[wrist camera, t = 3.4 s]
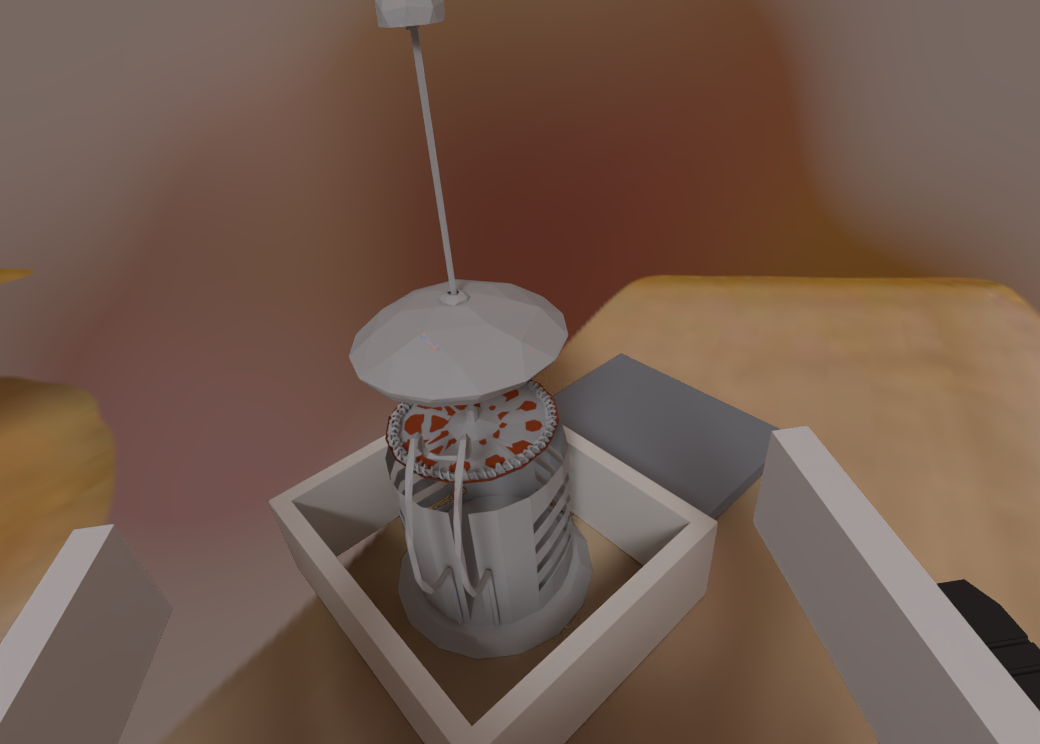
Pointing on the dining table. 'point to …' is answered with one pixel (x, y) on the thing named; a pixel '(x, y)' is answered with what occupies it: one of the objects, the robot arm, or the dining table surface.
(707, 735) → the dining table surface
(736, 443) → the rubber mat
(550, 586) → the french press
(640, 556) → the white open storage bin
